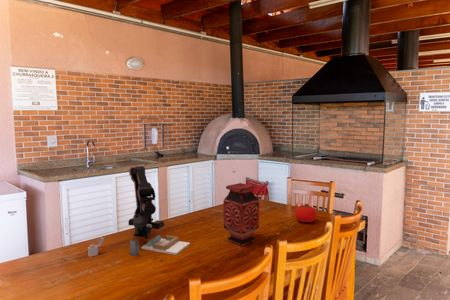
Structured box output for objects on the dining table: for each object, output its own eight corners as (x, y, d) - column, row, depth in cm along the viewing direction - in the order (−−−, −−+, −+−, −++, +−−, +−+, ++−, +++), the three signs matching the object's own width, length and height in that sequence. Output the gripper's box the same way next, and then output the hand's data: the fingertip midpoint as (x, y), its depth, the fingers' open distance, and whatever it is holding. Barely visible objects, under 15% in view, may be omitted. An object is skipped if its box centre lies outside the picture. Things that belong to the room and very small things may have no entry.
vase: (240, 234, 192) (241, 182, 189) (259, 241, 182) (260, 186, 179) (222, 240, 182) (223, 185, 179) (241, 248, 172) (242, 190, 169)
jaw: (147, 245, 172) (147, 241, 171) (158, 238, 181) (158, 235, 181) (150, 245, 171) (150, 242, 171) (160, 239, 180) (160, 235, 180)
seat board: (141, 248, 171) (141, 242, 170) (156, 239, 184) (156, 233, 183) (176, 255, 164) (176, 248, 163) (189, 244, 176) (189, 238, 176)
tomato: (318, 221, 216) (318, 204, 215) (311, 226, 206) (312, 209, 205) (298, 217, 224) (298, 201, 222) (291, 222, 213) (291, 206, 212)
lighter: (89, 256, 161) (88, 240, 160) (88, 255, 162) (87, 239, 161) (104, 253, 165) (103, 237, 164) (103, 252, 166) (102, 236, 165)
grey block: (130, 255, 163) (129, 241, 162) (134, 252, 166) (133, 239, 165) (135, 256, 162) (135, 242, 161) (139, 253, 165) (138, 239, 164)
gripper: (121, 212, 172) (121, 241, 174) (152, 216, 165) (153, 247, 167) (134, 206, 182) (135, 234, 184) (164, 210, 175) (165, 239, 177)
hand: (146, 238), depth 178 cm, fingers closed
